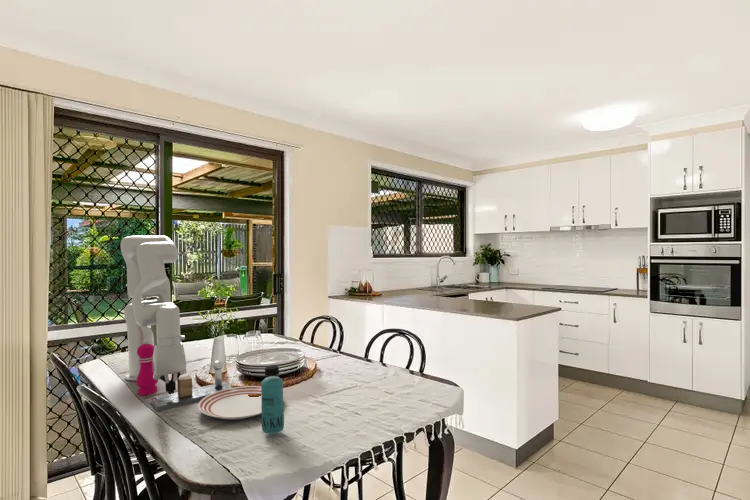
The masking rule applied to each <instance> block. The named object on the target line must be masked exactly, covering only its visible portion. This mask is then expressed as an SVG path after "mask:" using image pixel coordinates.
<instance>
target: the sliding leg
mask: <svg viewBox="0 0 750 500" xmlns="http://www.w3.org/2000/svg"><path fill="white" fill-rule="evenodd" d="M176 382H177V383H176V385H177V386H176V388H177V392H178V395H179V396H180V397H185V396H189V395H193V393H192V389H193V378H192V377H191V376H190V375H184V376H179V378H178V379H177V381H176Z"/></svg>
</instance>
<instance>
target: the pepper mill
mask: <svg viewBox="0 0 750 500" xmlns="http://www.w3.org/2000/svg"><path fill="white" fill-rule="evenodd" d="M153 352H154V346H153V345H152V344H148V340H144V341H143V345H141V346H139V347H138V349H137V355H138V356H139V357H140V358H139V362H140V365H141V366H140V372H139V374H138V377H137V381H136V386H137V387H139V388H138V389H137V391H138V393H137V394H138V396H149V394H150V395H153V394H155V393H156V392H157V391H158V386H157V383H158V382H159V380H155V379H154V378H153V375H154V372H153Z"/></svg>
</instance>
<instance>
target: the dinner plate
mask: <svg viewBox="0 0 750 500" xmlns="http://www.w3.org/2000/svg"><path fill="white" fill-rule="evenodd" d="M248 394H261V385H259V386H258V385H257V386H256V385H245V386H243V385H242V386H237V387H236V386H235V387H233V388H229V389H225V390H221V391H218V392H215V393H212V394H210V395H208V396H206V397H205V398H203V399H202V400H201V401H198V402H199V403H198V404H197V408H198V411H199V412H200V413H202V414H203V415H205V416H208V417H211V418H214V419H215V418H216V419H221V420H230V421H231V420H233V421H235V420H243V419H244V420H245V419H249V418H253V417H256V416H260V415H262V412H261V411H262V405H261V404H262V402H261V396H262V395H261V396H259V397H249V396H248Z"/></svg>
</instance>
